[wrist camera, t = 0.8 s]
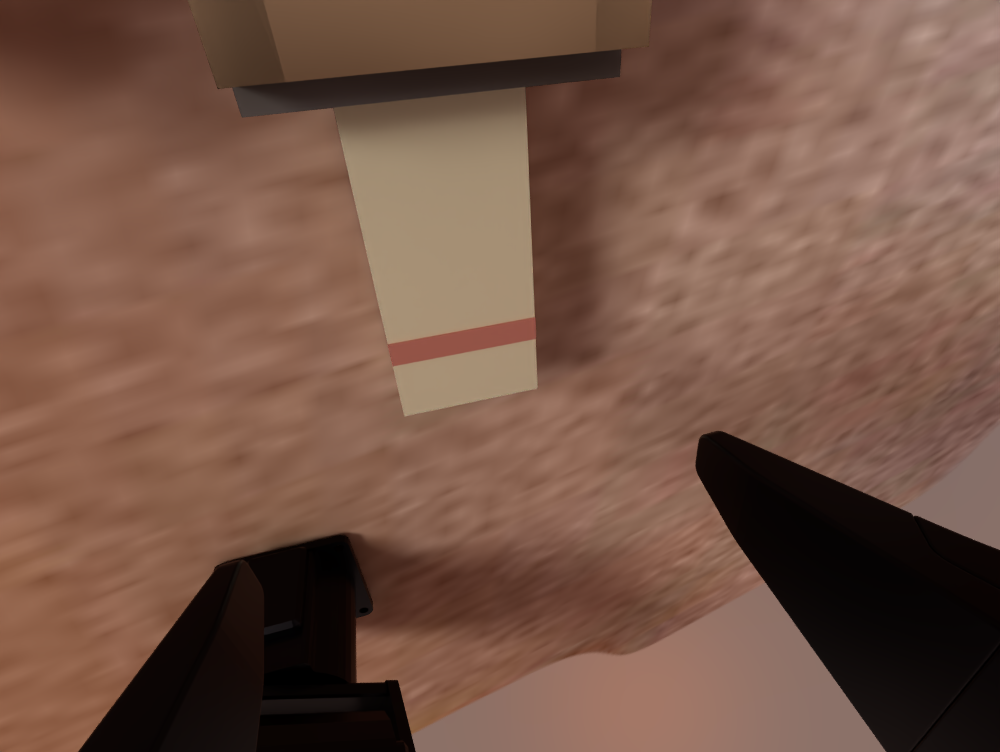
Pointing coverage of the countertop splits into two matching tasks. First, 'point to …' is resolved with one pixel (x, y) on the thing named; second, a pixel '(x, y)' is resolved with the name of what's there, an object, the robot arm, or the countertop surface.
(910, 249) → the countertop surface
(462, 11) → the brown block
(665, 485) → the countertop surface
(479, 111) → the cream striped pillar
